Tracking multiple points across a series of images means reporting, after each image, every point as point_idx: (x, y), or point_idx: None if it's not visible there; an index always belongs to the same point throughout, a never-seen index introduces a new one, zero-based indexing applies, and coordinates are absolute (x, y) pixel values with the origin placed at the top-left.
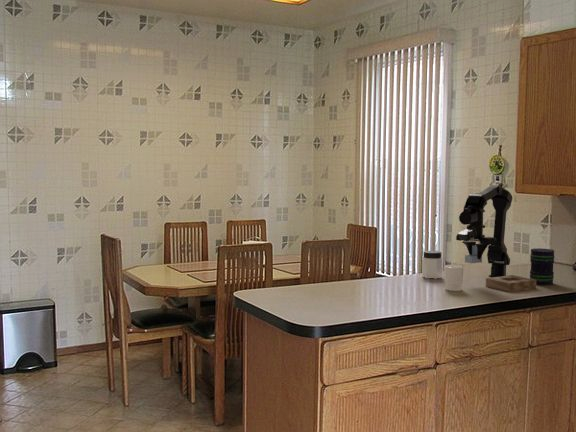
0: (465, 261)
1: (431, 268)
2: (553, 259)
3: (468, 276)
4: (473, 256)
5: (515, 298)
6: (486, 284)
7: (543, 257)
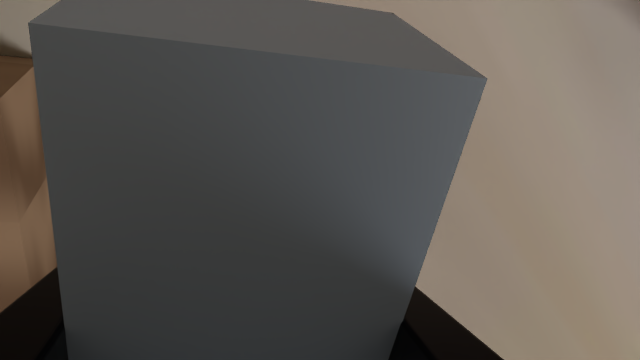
0: (378, 15)
1: None
2: None
3: (498, 298)
4: (46, 139)
5: None
6: (15, 66)
7: None
